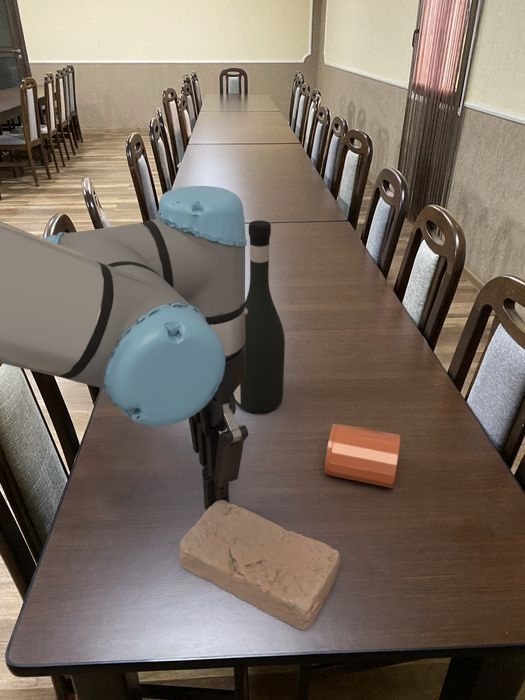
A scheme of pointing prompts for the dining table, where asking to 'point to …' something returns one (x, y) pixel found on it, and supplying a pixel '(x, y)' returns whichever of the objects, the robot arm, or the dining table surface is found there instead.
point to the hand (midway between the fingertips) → (216, 507)
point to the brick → (261, 562)
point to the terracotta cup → (362, 455)
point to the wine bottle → (261, 332)
